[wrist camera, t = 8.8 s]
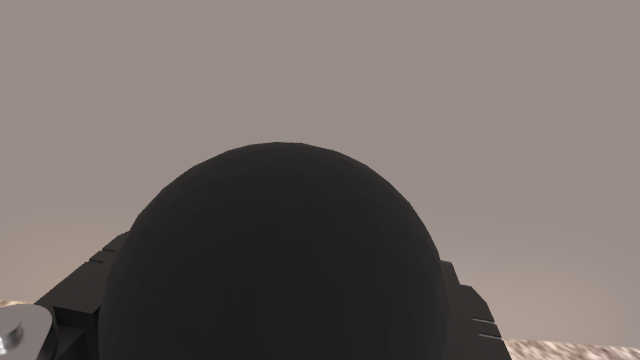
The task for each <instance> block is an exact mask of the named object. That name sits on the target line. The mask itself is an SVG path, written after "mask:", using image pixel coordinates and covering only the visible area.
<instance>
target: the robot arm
mask: <svg viewBox="0 0 640 360" xmlns="http://www.w3.org/2000/svg"><path fill="white" fill-rule="evenodd" d="M128 232H129V231H128ZM128 232H125V233H123V234H121V235H119V236H117V237H116V238H115V239H113V240H112V241H111V242H110V243H109V244H107V245H106V246H105V247H104V248H103V249H102V251H99V252H97V253H96V254H95V255H94V256H92V257H91V258H90V259H89V262H85V263H84V264H82V265H81V266H80V267H79V268H78V269H76V270H75V271H74V272H73V273H71V274H70V275H69V276H68V277H67V278H65V279H64V280H63V281H62V282H60V283H59V284H58V285H56V286H55V287H54V288H53V289H52V290H50V291H49V292H48V293H47V294H46V295H44V296H43V297H42V298H40V299H39V300H38V301H37V302H35V303H34V304H17V305H10V306H6V307H2V308H0V360H100V353H99V339H98V324H99V311H100V307H101V303H102V299H103V295H104V291H105V287H106V282H107V278H108V275H109V271H110V267H111V264H112V262H113V260H114V258H115V256H116V254H117V252H118V250H119V248H120V246H121V245H122V243H123V241H124V239H125V238H126V236H127V234H128ZM440 261H441V264H442V268H443V272H444V275H445V279H446V283H447V287H448V291H449V298H450V346H449V352H448V359H447V360H512V359H511V357H510V355H509V352H508V350H507V348H506V346H505V343H504V341H503V340H501V334H500V332H499V330H498V328H497V325H495V324H494V319H493V317H492V314H491V312H490V310H489V308H488V305H487V303H486V302H485V301H484V300H483V299H482V298H481V297H480V296H479V294H478V293H477V292H476V291H475V290H474V289H473V288H472V287H471V286H466V285H460V283H459V281H458V278H457V276H456V273H455V270H454V267H453V265H452V263H451V262H447V261H442V260H440Z"/></svg>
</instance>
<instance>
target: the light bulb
mask: <svg viewBox="0 0 640 360" xmlns="http://www.w3.org/2000/svg"><path fill="white" fill-rule="evenodd" d="M98 339H99V353H100V360H447V359H448V352H449V346H450V298H449V291H448V287H447V283H446V279H445V275H444V272H443V268H442V264H441V261H440V258H439V254H438V251H437V249H436V246H435V244H434V243H433V240H432V239H431V236H430V234H429V232H428V231H427V229H426V227H425V225H424V224H423V222H422V221H421V219H420V218H419V216H418V215H417V213H416V212H415V210H414V209H413V207H412V206H411V204H410V203H409V202H408V201H407V200H406V199H405V198H404V197H403V196H402V195H401V194H400V193H399V192H398V191H397V190H396V189H395V188H394V187H393V186H392V185H391V184H390V183H389V182H388V181H386V180H385V179H384V178H383V177H381V176H380V175H379V174H377V173H376V172H375V171H373V170H372V169H371V168H369V167H368V166H367V165H365V164H363V163H361V162H359V161H357V160H355V159H352V158H350V157H348V156H346V155H344V154H341V153H339V152H337V151H333V150H329V149H324V148H320V147H316V146H311V145H308V144H303V143H285V142H284V143H283V142H272V143H263V144H254V145H248V146H244V147H240V148H236V149H233V150H229V151H226V152H224V153H222V154H219V155H218V156H215V157H213V158H211V159H209V160H206V161H204V162H202V163H200V164H198V165H196V166H193V167H192V168H190V169H189V170H188V171H186V172H185V173H183V174H182V175H180V176H179V177H178V178H176V179H175V180H174V181H173V182H172V183H170V184H169V185H168V186H166V187H165V188H164V189H162V190H161V192H160V193H159V194H158V195H157V196H156V197H155V198H154V199H153V200H152V201H151V202H150V203H149V204H148V206H147V207H146V208H145V209H144V210H143V211H142V212H141V213H140V214H139V215H138V217H137V219H136V220H135V222H134V224H133V225H132V227H131V229H130V231H129V232H128V234H127V236H126V238H125V239H124V241H123V243H122V245H121V246H120V248H119V250H118V252H117V254H116V256H115V258H114V260H113V262H112V264H111V267H110V271H109V275H108V278H107V282H106V287H105V291H104V295H103V299H102V303H101V307H100V311H99V324H98Z"/></svg>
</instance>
